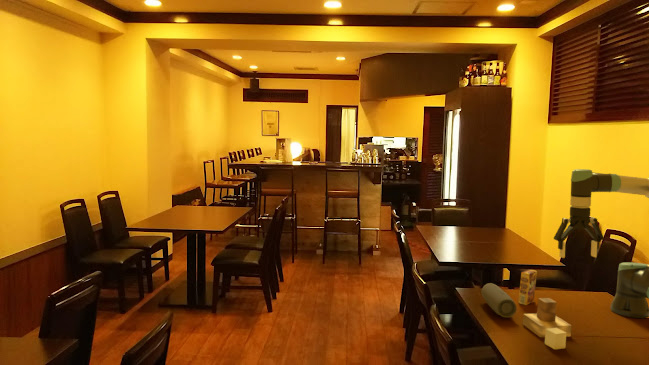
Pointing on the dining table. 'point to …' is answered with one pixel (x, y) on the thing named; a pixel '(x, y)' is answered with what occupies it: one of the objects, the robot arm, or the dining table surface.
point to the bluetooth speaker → (498, 300)
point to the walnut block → (546, 309)
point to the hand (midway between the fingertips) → (577, 256)
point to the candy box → (527, 287)
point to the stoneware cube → (555, 338)
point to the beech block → (545, 325)
